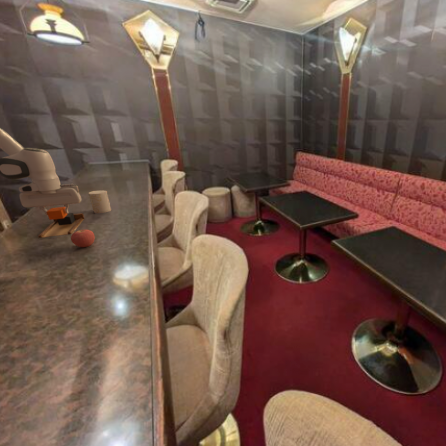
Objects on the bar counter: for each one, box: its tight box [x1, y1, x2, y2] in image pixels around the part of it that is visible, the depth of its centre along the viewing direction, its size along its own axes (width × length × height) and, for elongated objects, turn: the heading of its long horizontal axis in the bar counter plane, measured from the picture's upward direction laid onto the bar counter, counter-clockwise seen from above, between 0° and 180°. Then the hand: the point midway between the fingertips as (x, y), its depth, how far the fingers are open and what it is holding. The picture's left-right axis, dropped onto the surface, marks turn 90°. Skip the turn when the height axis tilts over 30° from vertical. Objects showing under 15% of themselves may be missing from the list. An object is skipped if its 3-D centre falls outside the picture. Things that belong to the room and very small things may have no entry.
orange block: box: [47, 206, 68, 221], centre depth 116 cm, size 5×6×4 cm
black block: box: [57, 212, 75, 225], centre depth 125 cm, size 5×6×4 cm
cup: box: [88, 189, 112, 214], centre depth 143 cm, size 8×8×12 cm
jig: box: [37, 212, 85, 239], centre depth 120 cm, size 12×22×4 cm, turn 28°
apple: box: [70, 229, 96, 248], centre depth 103 cm, size 7×7×8 cm
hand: (57, 213), depth 117 cm, fingers closed on orange block, 5 cm apart
